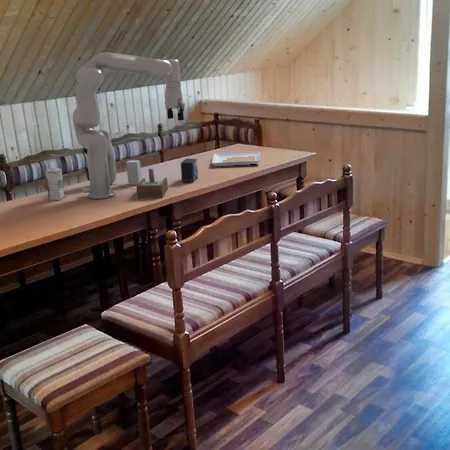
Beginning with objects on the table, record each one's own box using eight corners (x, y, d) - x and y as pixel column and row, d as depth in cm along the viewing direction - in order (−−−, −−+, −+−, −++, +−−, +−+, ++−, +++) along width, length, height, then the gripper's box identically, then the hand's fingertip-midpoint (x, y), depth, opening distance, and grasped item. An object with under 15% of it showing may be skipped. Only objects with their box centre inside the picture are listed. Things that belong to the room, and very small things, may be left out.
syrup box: (53, 197, 305) (49, 168, 300) (65, 197, 304) (61, 168, 299) (48, 200, 299) (44, 170, 295) (60, 200, 298) (56, 170, 294)
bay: (162, 197, 294) (161, 185, 292) (137, 198, 294) (136, 186, 293) (167, 189, 309) (167, 177, 307) (143, 189, 310) (142, 178, 308)
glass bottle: (93, 184, 326) (87, 131, 317) (110, 180, 332) (104, 128, 324) (104, 187, 319) (98, 132, 310) (121, 183, 326) (115, 129, 317)
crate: (159, 195, 295) (157, 172, 291) (141, 195, 296) (139, 172, 292) (162, 190, 302) (160, 168, 299) (144, 191, 303) (142, 168, 300)
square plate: (214, 158, 375) (213, 152, 374) (259, 157, 374) (259, 150, 373) (211, 168, 349) (211, 161, 348) (260, 166, 348) (260, 159, 347)
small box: (193, 182, 319) (192, 162, 315) (181, 182, 320) (179, 162, 317) (198, 177, 328) (197, 158, 325) (186, 178, 330) (185, 158, 327)
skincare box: (142, 183, 324) (140, 160, 320) (139, 185, 320) (136, 162, 316) (131, 182, 325) (129, 160, 322) (128, 184, 321) (125, 162, 318)
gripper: (157, 85, 317) (160, 119, 323) (176, 86, 304) (178, 121, 309) (170, 83, 322) (172, 117, 327) (188, 85, 308) (191, 119, 313)
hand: (175, 119), depth 318 cm, fingers open, 9 cm apart
